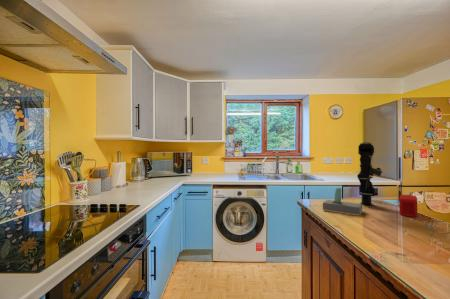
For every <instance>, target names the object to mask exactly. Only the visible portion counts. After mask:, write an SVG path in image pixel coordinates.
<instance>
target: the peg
mask: <svg viewBox="0 0 450 299" xmlns="http://www.w3.org/2000/svg"><path fill="white" fill-rule="evenodd" d="M333 201H334V203H337V204H341V202H342V187H334V199H333Z"/></svg>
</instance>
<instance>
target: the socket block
mask: <svg viewBox="0 0 450 299" xmlns="http://www.w3.org/2000/svg"><path fill="white" fill-rule="evenodd" d="M322 210H323V211H326V210H327V212H328V211H329V212H334V213H340V214H341V213H342V214H348V215H354V216H361V214H362V213H363V204H360V203H358V202H357V203H356V202H355V203H354V202H347V201H341V204H337V203H334V200H331V199H326V200H325V201H323V202H322Z"/></svg>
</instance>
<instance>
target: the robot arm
mask: <svg viewBox="0 0 450 299" xmlns="http://www.w3.org/2000/svg"><path fill="white" fill-rule="evenodd" d="M357 148H358V150H357V151H358V152H357V154H358V155H359V157H360V158H359V161H360V164H359V167H360V171H359V173H358V174H357V175H356V176H357V180H358V181H359V183H360V184H359V186H358V191H359V192H358V194H359V196H361V202H360V203H359V204H362V206H373V203H372V197H375V196H376V189H375V187H374V186H373V183H372V181H371V179H372V178H373V177H374V175H376V176H377V177H381V176H382V173H383V170H381V168H380V167H377V168H375V167H373V165H372V159H373V156H374V154H375V146H374V144H372V143H371V142H368V141H366V142H365V141H364V142H361V143H359V145H358V147H357Z"/></svg>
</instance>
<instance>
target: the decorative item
mask: <svg viewBox="0 0 450 299" xmlns="http://www.w3.org/2000/svg"><path fill="white" fill-rule="evenodd" d="M397 206H398V208H399V211H398V212H399V215H400V216H405V217H413V218H416V217H417V216H418V197H417V196H416V195H411V194H410V195H409V194H400V195H399V200H398V202H397Z"/></svg>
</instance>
